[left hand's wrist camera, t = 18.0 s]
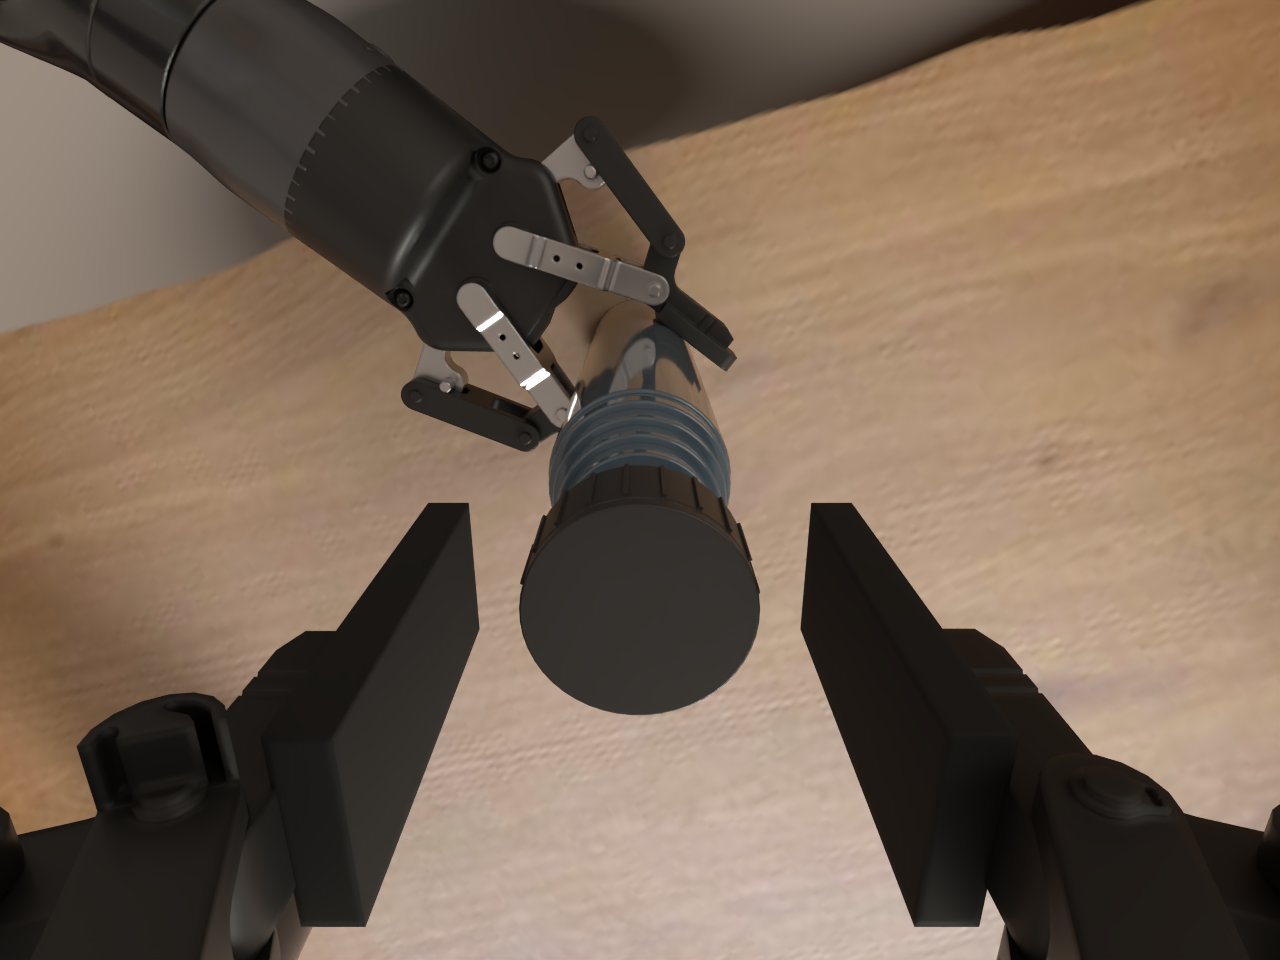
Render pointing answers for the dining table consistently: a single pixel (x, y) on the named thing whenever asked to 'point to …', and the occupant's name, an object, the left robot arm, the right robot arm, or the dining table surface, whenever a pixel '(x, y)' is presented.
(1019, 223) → the dining table surface
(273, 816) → the left robot arm
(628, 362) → the bottle
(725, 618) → the cap
